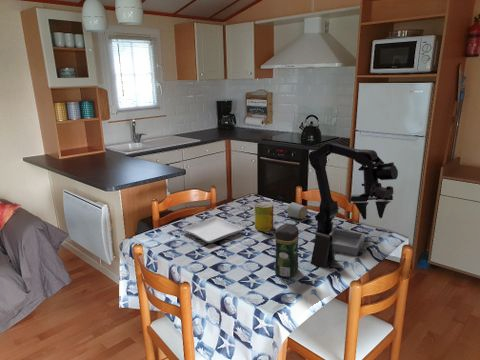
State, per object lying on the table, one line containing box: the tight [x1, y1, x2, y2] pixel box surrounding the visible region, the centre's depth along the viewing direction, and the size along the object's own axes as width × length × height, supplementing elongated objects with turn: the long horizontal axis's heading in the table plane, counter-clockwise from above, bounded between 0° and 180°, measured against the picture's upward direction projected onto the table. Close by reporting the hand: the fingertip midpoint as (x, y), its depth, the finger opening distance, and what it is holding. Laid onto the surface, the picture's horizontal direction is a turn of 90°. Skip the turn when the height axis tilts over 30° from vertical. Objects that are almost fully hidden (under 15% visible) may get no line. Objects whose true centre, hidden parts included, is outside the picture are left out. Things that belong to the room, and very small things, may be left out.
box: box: [329, 228, 366, 257], centre depth 163 cm, size 14×16×4 cm
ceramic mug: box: [287, 202, 308, 220], centre depth 197 cm, size 11×8×8 cm
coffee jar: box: [274, 223, 299, 278], centre depth 139 cm, size 10×8×19 cm
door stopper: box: [310, 232, 336, 269], centre depth 147 cm, size 9×6×12 cm, turn 139°
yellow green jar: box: [254, 201, 274, 232], centre depth 183 cm, size 9×9×12 cm
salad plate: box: [182, 216, 244, 244], centre depth 178 cm, size 21×21×3 cm
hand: (372, 218), depth 154 cm, fingers open, 9 cm apart
